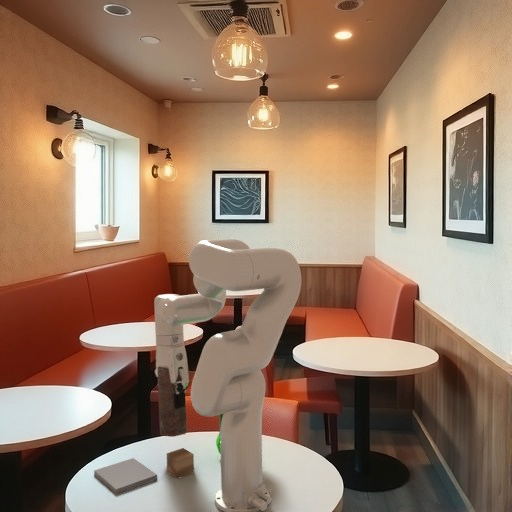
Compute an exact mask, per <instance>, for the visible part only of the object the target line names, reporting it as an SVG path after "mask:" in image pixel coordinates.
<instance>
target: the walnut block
mask: <svg viewBox="0 0 512 512" xmlns="http://www.w3.org/2000/svg"><path fill="white" fill-rule="evenodd" d="M194 460H195V458H194V453H192V452H191V451H189V450H187V449H186V448H184V447H182V448H179V449H176V450H173V451H170V452H167V453H166V472H167V473H168V474H170V475H171V476H172V477H174V478H175V479H177V480H178V479H181V478H183V477H186V476H189V475H191V474H194V473H195V461H194Z"/></svg>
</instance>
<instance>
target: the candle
mask: <svg viewBox="0 0 512 512" xmlns="http://www.w3.org/2000/svg"><path fill="white" fill-rule="evenodd" d="M176 381H181V378H180V377H179V375H178V377H177V379H176ZM180 385H181V383H180V384H177V386H178V388H179V386H180ZM157 388H158V392H157V393H158V414H159V415H158V418H159V420H158V421H159V434H160V436H163V437H179V436H182V435H186V434H187V433H188V429H187V408H186V405H185V407H181V408H178V409H175V408H174V394H175V390H174V385H173V384H172V383H171V381H170V375H169V369H168V368H167V369H166V368H160V367H158V381H157Z"/></svg>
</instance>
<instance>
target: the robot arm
mask: <svg viewBox="0 0 512 512" xmlns="http://www.w3.org/2000/svg"><path fill="white" fill-rule="evenodd" d="M188 264H189V269H190V271H191V272H192V274H193V278H192V279H193V285H194V287H195V290H196V291H197V292H198V293H193V294H187V295H180V294H176V293H175V294H174V293H165V294H164V293H163V294H158V295H157V296H156V297H154V305H153V306H154V326H155V327H154V329H155V347H156V349H155V370H154V374H155V377H156V380H157V382H158V367H160V368H166V369H167V368H168V369H169V375H170V381H171V383H172V384H173V385H174V390H175V394H174V408H175V409H178V408H181V407H185V405H186V392H187V388H188V386H189V383H190V379H189V365H188V357H187V356H188V355H187V351H186V348H185V340H184V339H185V338H184V325H189V324H195V323H203V322H207V321H210V320H211V319H213V318H214V317H215V316H217V314H219V312H221V310H222V309H223V308H224V306H225V304H226V300H227V299H226V298H227V291H230V292H245V291H254V290H262V292H261V293H260V294H259V295H258V296H257V297H256V298H255V299H254V300H253V302H252V303H251V304H250V305H249V308H248V310H247V311H246V314H245V318H244V320H243V322H242V324H241V325H240V326H239V328H236V329H235V330H234V329H233V330H228V331H222V332H220V333H216V334H214V335H212V336H211V337H210V338H209V339H208V340H207V341H206V343H205V344H204V346H203V348H202V351H201V354H200V357H199V359H198V363H197V367H196V370H195V373H194V376H193V378H192V381H191V382H192V383H191V385H190V387H191V388H190V401H191V404H192V407H193V409H194V410H195V412H196V413H197V414H198V415H200V416H202V417H205V418H211V417H215V416H216V417H217V416H219V415H220V414H223V417H222V421H221V427H220V445H221V454H220V484H221V488H220V489H219V490H218V491H217V492H216V493H215V495H214V503H215V506H216V508H217V509H219V510H220V511H222V512H260V511H262V512H264V511H266V510H267V508H268V505H269V504H271V502H272V497H271V496H270V493H269V491H268V490H267V489H266V485H265V484H263V483H264V482H263V480H264V479H263V430H262V429H263V427H262V425H263V423H262V421H263V409H264V401H265V396H266V386H267V384H266V378H265V376H264V374H263V372H262V370H263V369H265V368H266V367H267V366H269V364H270V362H271V360H272V358H273V356H274V354H275V351H276V349H277V346H278V344H279V341H280V338H281V336H282V334H283V331H284V329H285V326H286V323H287V322H288V321H287V320H288V319H289V318H290V315H291V313H292V311H293V310H294V307H295V305H296V303H297V301H298V299H299V296H300V294H301V293H300V292H301V290H302V289H301V287H302V272H301V267H300V265H299V263H298V260H297V259H296V257H295V256H294V255H293V254H292V253H291V252H289V251H288V250H286V249H285V250H284V249H282V248H281V249H280V248H275V247H269V248H268V247H265V248H261V247H260V248H250V247H249V245H248V244H246V243H245V242H243V241H242V240H238V239H231V238H228V239H227V238H226V239H205V240H200V241H199V242H198V243H196V244H195V245H194V246H193V247H192V249H191V250H190V253H189V257H188ZM178 375H179V377H180V378H181V381H176V379H177V377H178ZM180 383H181V385H180V386H179V388H178V386H177V384H180Z"/></svg>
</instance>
